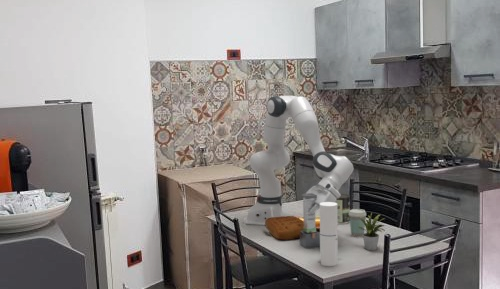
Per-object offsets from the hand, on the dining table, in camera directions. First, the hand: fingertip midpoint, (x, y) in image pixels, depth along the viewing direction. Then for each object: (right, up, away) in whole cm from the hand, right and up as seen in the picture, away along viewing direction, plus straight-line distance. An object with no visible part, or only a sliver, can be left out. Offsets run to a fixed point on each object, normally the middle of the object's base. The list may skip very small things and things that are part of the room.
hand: (307, 211), depth 226 cm
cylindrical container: (+7, -19, -17) cm, 27 cm away
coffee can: (+22, -12, +45) cm, 51 cm away
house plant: (+27, -17, -1) cm, 32 cm away
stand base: (+1, -17, +2) cm, 17 cm away
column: (+1, -11, +1) cm, 11 cm away
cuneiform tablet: (-8, -15, +21) cm, 27 cm away
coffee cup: (+26, -14, +20) cm, 36 cm away
